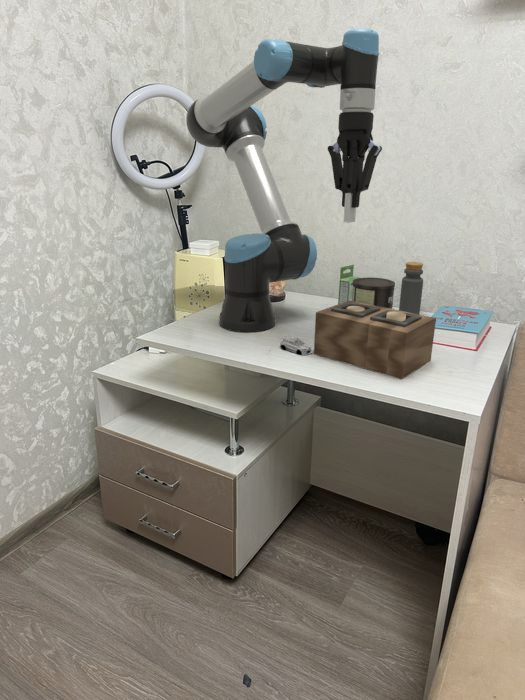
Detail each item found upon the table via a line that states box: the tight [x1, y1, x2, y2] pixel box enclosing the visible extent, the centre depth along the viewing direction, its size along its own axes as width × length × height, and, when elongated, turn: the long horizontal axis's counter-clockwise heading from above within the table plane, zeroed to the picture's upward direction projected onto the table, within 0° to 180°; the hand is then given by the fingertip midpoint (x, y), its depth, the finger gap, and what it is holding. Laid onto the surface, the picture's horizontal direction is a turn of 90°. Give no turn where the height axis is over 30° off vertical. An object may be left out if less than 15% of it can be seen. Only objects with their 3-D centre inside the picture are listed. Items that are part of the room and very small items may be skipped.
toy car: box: [279, 335, 313, 356], centre depth 123 cm, size 4×8×3 cm, turn 47°
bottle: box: [398, 261, 424, 315], centre depth 150 cm, size 6×6×15 cm
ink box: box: [337, 264, 361, 305], centre depth 152 cm, size 7×4×13 cm, turn 136°
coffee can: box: [352, 276, 396, 309], centre depth 132 cm, size 10×10×14 cm
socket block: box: [313, 300, 437, 380], centre depth 118 cm, size 22×14×11 cm, turn 49°
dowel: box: [386, 311, 406, 322], centre depth 114 cm, size 4×4×9 cm
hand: (349, 221), depth 123 cm, fingers closed
